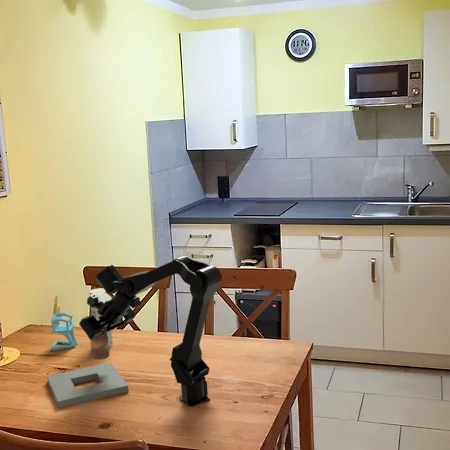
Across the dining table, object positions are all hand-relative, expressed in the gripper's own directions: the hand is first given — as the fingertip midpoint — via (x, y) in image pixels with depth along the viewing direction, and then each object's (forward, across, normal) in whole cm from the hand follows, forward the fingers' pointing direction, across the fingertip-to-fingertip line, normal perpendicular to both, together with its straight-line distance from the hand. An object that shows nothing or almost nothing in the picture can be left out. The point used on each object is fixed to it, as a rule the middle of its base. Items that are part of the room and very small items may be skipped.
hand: (95, 335), depth 193 cm
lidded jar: (+4, 0, +6) cm, 7 cm away
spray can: (+22, -21, -3) cm, 31 cm away
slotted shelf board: (+8, +7, +11) cm, 15 cm away
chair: (+31, -14, -12) cm, 37 cm away
